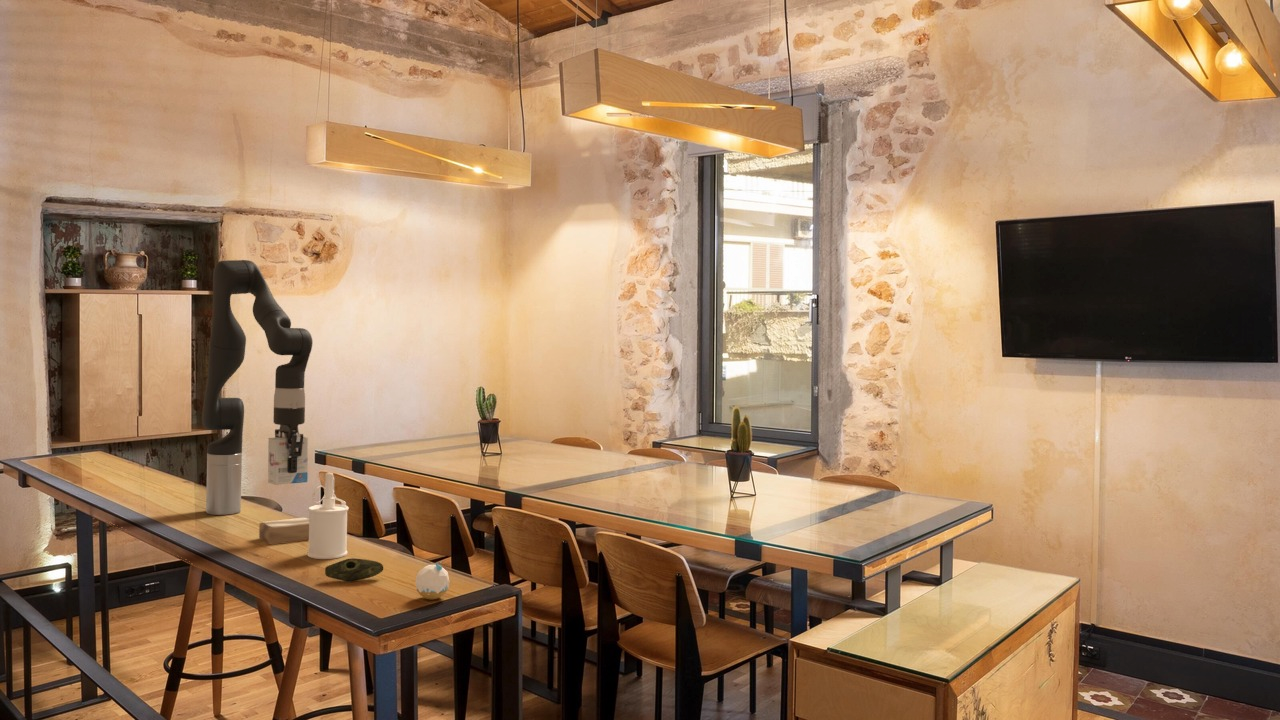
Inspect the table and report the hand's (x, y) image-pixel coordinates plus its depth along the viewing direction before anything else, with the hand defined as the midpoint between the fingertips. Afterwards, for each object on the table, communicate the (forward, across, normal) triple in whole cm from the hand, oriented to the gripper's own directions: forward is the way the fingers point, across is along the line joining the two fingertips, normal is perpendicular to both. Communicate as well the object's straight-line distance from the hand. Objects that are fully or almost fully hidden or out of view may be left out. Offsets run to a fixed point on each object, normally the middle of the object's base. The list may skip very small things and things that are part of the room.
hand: (288, 471), depth 240 cm
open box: (+18, 0, 0) cm, 18 cm away
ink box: (+3, 0, 0) cm, 3 cm away
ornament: (+18, +68, +5) cm, 70 cm away
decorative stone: (+18, +46, -2) cm, 49 cm away
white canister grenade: (+18, +21, +3) cm, 28 cm away
